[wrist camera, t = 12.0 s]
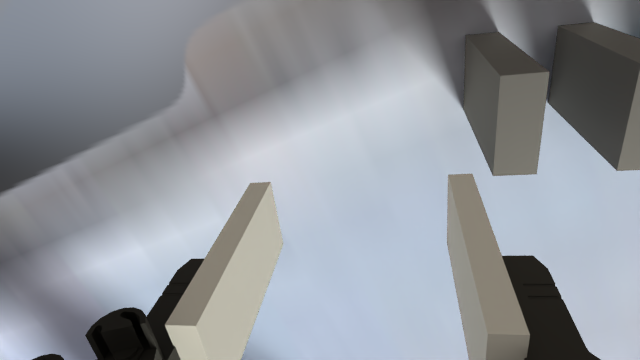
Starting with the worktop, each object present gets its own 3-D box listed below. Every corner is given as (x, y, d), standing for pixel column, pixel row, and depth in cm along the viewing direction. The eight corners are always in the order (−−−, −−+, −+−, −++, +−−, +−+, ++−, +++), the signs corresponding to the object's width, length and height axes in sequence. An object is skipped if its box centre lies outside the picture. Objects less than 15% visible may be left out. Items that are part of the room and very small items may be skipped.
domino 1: (463, 109, 29) (493, 175, 21) (465, 35, 27) (500, 75, 18) (493, 107, 29) (536, 174, 20) (498, 31, 27) (549, 71, 18)
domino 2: (548, 103, 28) (617, 170, 20) (558, 25, 26) (641, 63, 17) (580, 100, 28) (665, 168, 19) (593, 22, 26) (696, 59, 17)
